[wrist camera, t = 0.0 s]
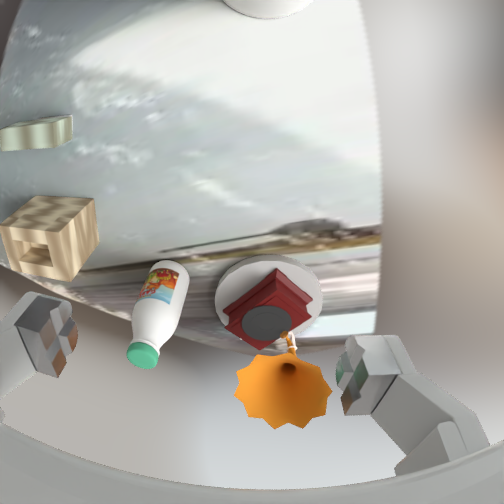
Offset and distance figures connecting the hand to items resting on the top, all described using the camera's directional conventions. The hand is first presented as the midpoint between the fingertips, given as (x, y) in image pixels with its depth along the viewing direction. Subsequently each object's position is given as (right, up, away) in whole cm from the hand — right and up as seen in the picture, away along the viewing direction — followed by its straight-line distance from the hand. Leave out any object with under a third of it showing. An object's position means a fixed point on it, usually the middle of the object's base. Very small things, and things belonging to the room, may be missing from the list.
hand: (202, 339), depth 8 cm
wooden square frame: (-34, +9, +41) cm, 54 cm away
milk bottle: (-14, -2, +48) cm, 50 cm away
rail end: (-31, +24, +31) cm, 50 cm away
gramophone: (+5, -7, +50) cm, 51 cm away
